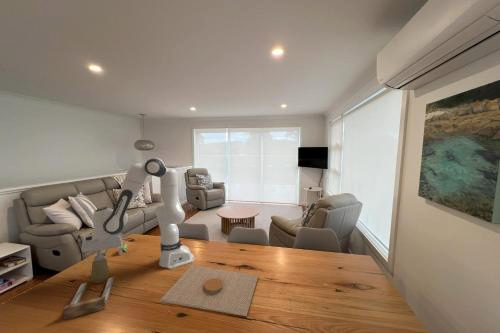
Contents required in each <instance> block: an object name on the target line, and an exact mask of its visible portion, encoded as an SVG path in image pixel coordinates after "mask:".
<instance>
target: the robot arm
mask: <svg viewBox="0 0 500 333" xmlns="http://www.w3.org/2000/svg"><path fill="white" fill-rule="evenodd" d="M149 175H150V176H151V177H157V178H159V180H160V184H159V186H160V188H159V190H160V199H161V201H162V202H163V203H161V204H158V205H157V206H156V207H155V209H154V214H155V217H157V218H156V219H157V220H158V221H157V222H158V225H159V229H160V238H161V239H160V240H161V241H160V257H159V258H160V259H159V262H158V265H159V267H162V268H167V269H169V270H173V269H177V268H178V267H182V266H184V265H187V264H191V263H193V262H194V260H195V256H194V254H193V253H192V252H191V250H190V248H189V247H188V246H186V245H184V243H183V240H182V239H181V238H179V237H180V234H179V233H180V232H179V227H178V225H180V224H182V223H183V222H184V220H185V219H186V218H185V217H186V213H185V211H184V209H183V208H182V204H181V201H180V197H179V177H178V176H179V175H178V171H177V170H176V169H174V168H172V167H167V166H166V163H165V161H164V160H163V159H161V158H160V157H152V158H150V159H147V160H146V161H145V163H138V162H137V163H133V164H132V165H131V166H130V168H129V169H128V171H127V173H126V175H125V177H124V179H123V182H122V186H121V189H120V192H119V195H118V198H117V202H116V204H115V206H114V208H111V207H109V206H104V207H100V208H98V209H96V210H94V212H93V214H92V225H93V230H92V232H89V233H86V234H85V236H84V237H83V239H82V240H83V242H81V253H89V252H90V253H91V252H96V251H97V252H98V250H100V251H101V254H102V255H104V257H106V256H107V252H108V251H109V249H110V250H111V249H115V248H119V247H121V246H122V245H123V243H124V242H123V237H124V235H123V233H122V230H123V229H124V227H125V226H126V224H127V223H128V221H129V218H130V217H129V214H128V213H127V211H128V207H129V206H130V204H131V203H132V201H133V200H134V198H136V196H137V195H138V194H139V193H140V191H141V190H142V188H143V186H144V184H145V181H146V178H148V176H149ZM102 250H104V252H102Z"/></svg>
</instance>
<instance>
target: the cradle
mask: <svg viewBox="0 0 500 333" xmlns="http://www.w3.org/2000/svg"><path fill="white" fill-rule="evenodd" d="M114 282H115V277H114V276H113V277H109V278H108V279H107V282H106V285H105V288H104V290H103V293H102V295H101V297H97V298H91V299H89V300H84V301H82V299H83V296H84V295H85V292H86V290H87V289H88V282H84V283H81V284H80V286H79V287H78V289H77V291H76V292H75V294H74V296H73V298H72V299H71V302H70V303H69V304H67V305H65V306H64V307H63V317H64V320H68V319H72V318H76V317H79V316H83V315H87V314H91V313H95V312H99V311H102V310H106V307H107V305H108V304H107V303H108V302H109V298H110V294H111V292H112V289H113V287H114Z"/></svg>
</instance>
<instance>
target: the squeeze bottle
mask: <svg viewBox="0 0 500 333" xmlns="http://www.w3.org/2000/svg"><path fill="white" fill-rule="evenodd" d="M101 252H102V250H101V251H100V250H97V252H96V255H95V256H94V258H93V261H92V263H91V272H90V274H91V275H90V278H91V280H92V282H93V284H101V283H103V282H105V281H107V280H108V279H107V278H108V275H109V266H108V260H107V258H106V257H105V256H104V255H102V254H101Z"/></svg>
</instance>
